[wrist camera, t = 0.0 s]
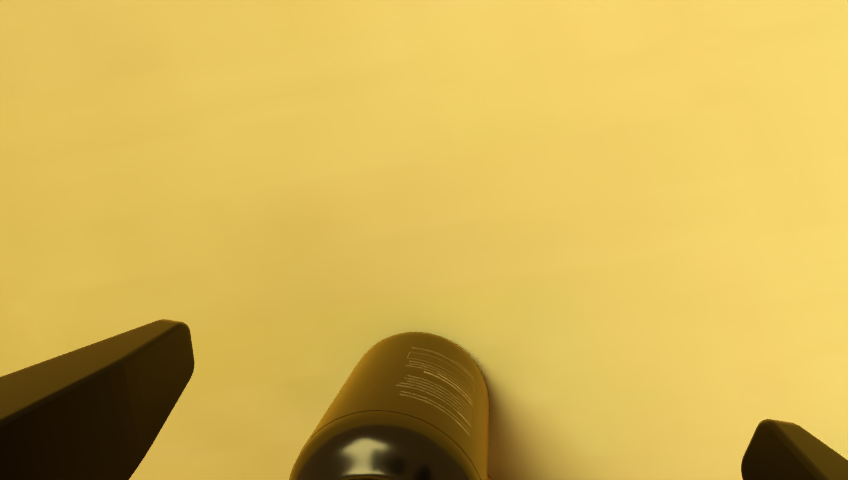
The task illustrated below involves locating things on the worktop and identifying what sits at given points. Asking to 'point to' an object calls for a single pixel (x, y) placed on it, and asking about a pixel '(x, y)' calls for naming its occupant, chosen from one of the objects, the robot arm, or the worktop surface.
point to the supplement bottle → (404, 417)
